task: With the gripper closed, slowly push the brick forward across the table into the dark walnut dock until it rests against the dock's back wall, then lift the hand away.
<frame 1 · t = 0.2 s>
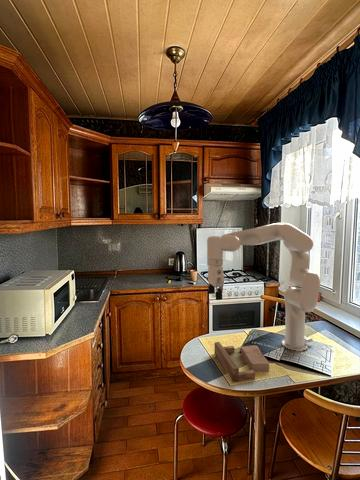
hand: (215, 296, 130), 31 cm above the table, tool pointing down, fingers open, 9 cm apart
brick: (254, 363, 128), on the table
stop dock: (235, 365, 126), on the table
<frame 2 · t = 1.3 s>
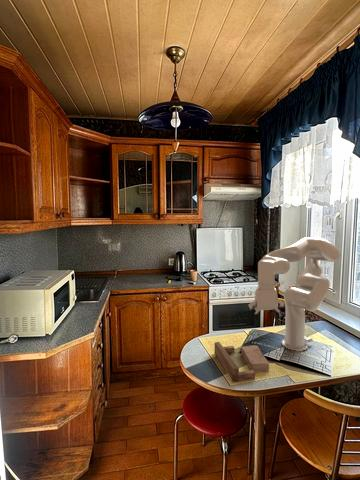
hand: (266, 320, 129), 20 cm above the table, tool pointing down, fingers open, 9 cm apart
nothing on the table moved.
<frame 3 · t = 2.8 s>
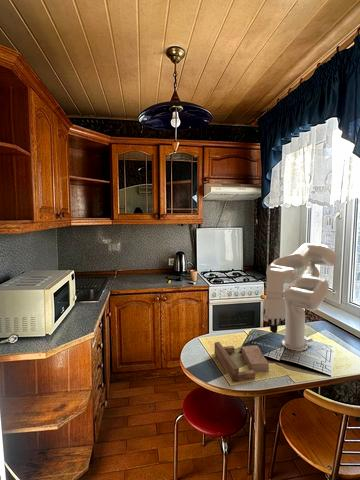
hand: (273, 331, 128), 14 cm above the table, tool pointing down, fingers closed
nothing on the table moved.
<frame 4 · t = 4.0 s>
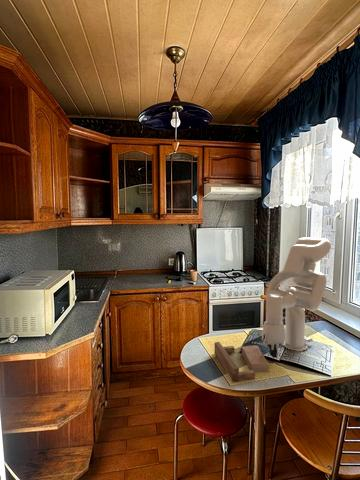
hand: (273, 356, 129), 2 cm above the table, tool pointing down, fingers closed
nothing on the table moved.
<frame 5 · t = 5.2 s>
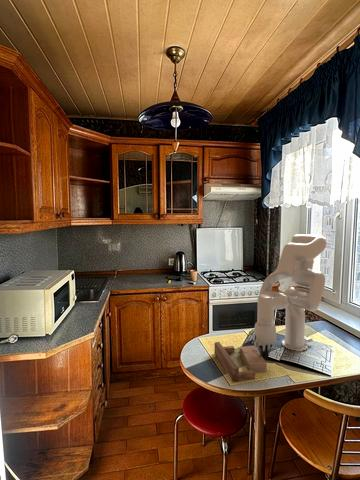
hand: (264, 357, 128), 2 cm above the table, tool pointing down, fingers closed
brick: (252, 363, 128), on the table, touching gripper
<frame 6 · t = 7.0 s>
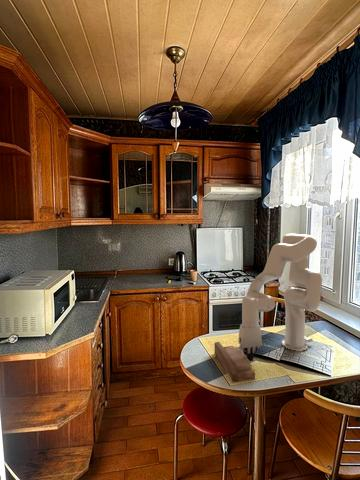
hand: (250, 359, 127), 2 cm above the table, tool pointing down, fingers closed
brick: (237, 365, 127), on the table
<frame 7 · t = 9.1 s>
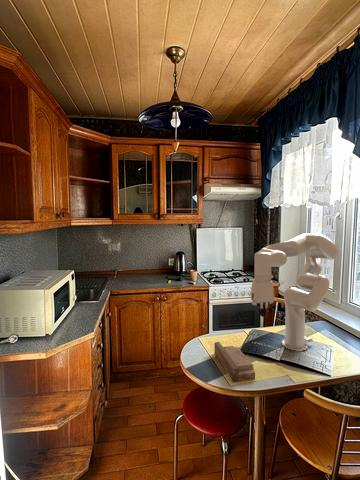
hand: (262, 315, 127), 22 cm above the table, tool pointing down, fingers closed
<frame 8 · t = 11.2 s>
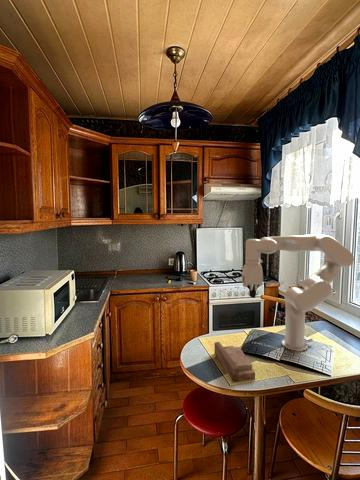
hand: (252, 297, 140), 27 cm above the table, tool pointing down, fingers closed
at the end: brick inside the target area (0.5 cm from its centre), on the table; brick tilted 0°; the gripper is holding nothing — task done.
